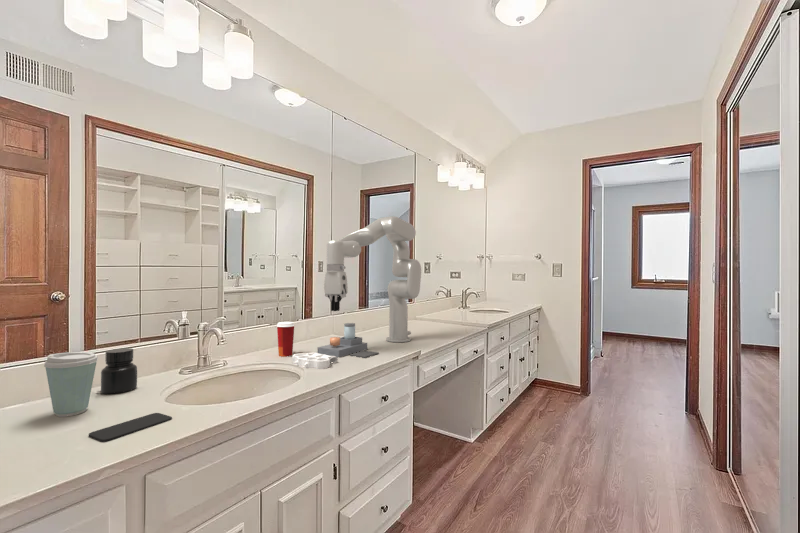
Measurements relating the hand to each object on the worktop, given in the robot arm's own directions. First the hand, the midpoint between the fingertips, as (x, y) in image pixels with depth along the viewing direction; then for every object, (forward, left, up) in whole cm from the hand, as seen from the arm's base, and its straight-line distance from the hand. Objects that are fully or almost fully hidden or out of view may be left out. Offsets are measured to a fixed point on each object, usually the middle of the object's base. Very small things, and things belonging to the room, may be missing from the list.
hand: (335, 310), depth 168 cm
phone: (+85, +13, -20) cm, 88 cm away
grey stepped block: (-5, 0, -19) cm, 20 cm away
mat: (-5, +12, -19) cm, 23 cm away
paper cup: (+14, -16, -19) cm, 28 cm away
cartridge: (-10, 0, -16) cm, 19 cm away
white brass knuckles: (+18, +5, -20) cm, 27 cm away
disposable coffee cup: (+89, -10, -19) cm, 91 cm away
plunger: (0, 0, -19) cm, 19 cm away
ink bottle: (+74, -21, -19) cm, 79 cm away
